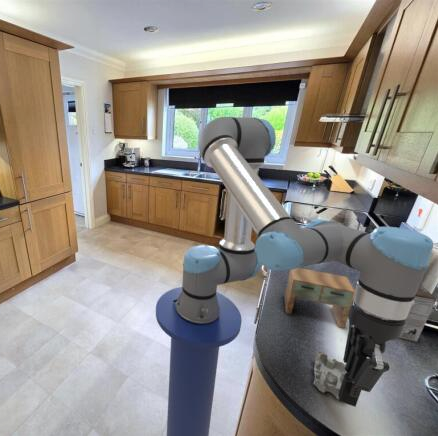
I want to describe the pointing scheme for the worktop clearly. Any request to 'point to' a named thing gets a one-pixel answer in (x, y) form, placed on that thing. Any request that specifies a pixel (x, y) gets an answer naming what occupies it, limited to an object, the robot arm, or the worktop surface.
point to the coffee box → (418, 314)
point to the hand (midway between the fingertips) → (346, 400)
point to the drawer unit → (320, 291)
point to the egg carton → (328, 374)
